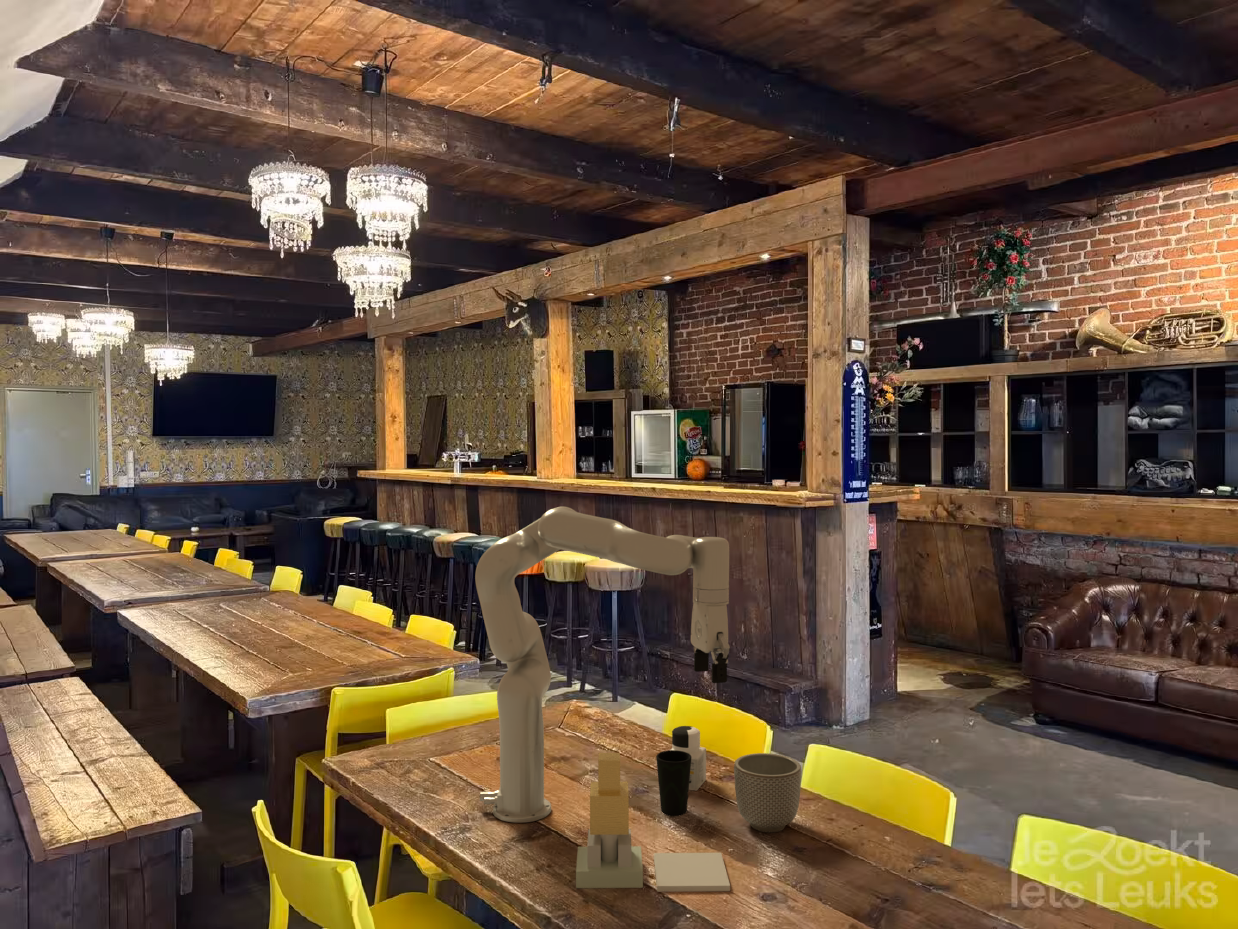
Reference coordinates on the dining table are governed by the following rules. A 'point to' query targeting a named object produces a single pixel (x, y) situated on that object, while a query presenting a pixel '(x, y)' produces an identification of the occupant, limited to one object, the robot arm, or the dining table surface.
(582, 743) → the dining table surface
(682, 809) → the cup
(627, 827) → the stepped wooden tower
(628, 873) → the vise
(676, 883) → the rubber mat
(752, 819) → the planter
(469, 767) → the dining table surface
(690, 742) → the container
